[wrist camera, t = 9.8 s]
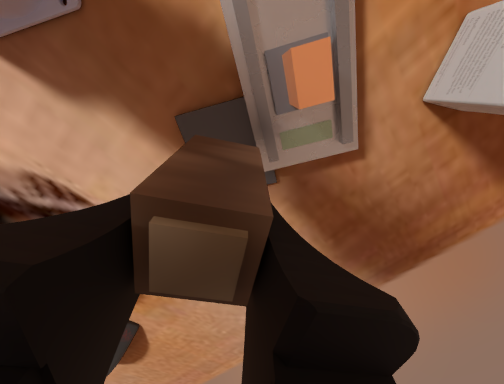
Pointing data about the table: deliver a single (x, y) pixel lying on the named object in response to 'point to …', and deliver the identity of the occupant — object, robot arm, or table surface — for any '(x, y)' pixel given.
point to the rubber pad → (221, 125)
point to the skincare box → (473, 65)
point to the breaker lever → (301, 73)
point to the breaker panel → (258, 83)
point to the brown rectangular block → (201, 223)
